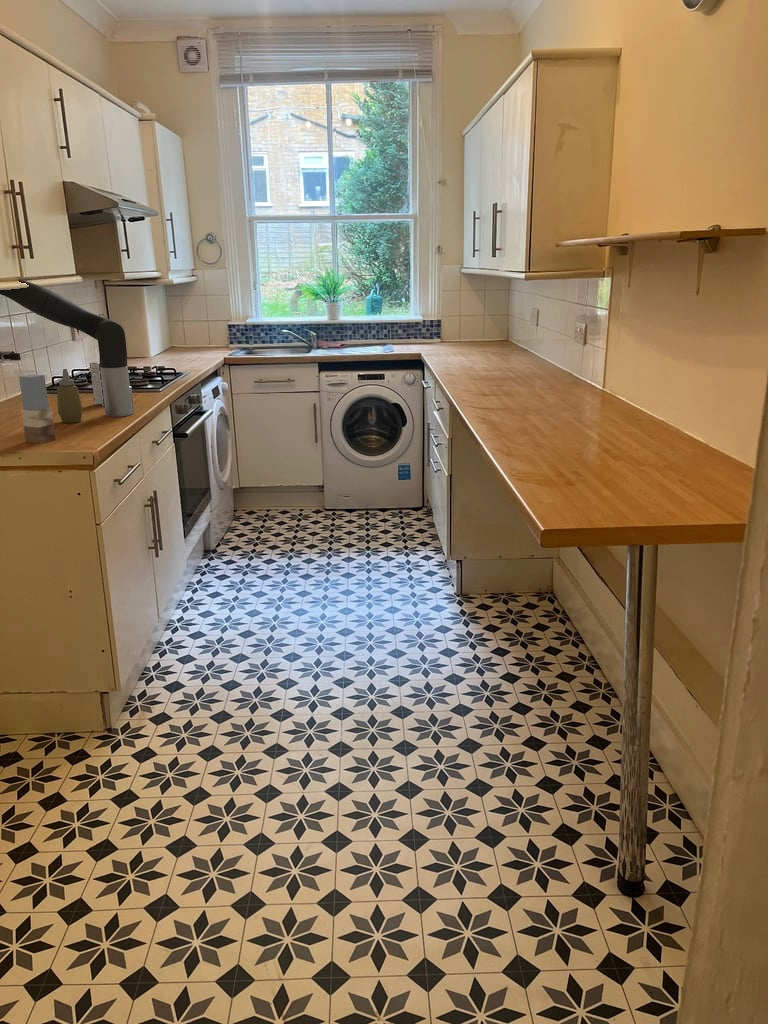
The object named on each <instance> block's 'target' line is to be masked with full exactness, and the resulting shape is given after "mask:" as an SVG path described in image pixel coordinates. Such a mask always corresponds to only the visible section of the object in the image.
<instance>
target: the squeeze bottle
mask: <svg viewBox="0 0 768 1024" xmlns="http://www.w3.org/2000/svg"><path fill="white" fill-rule="evenodd" d="M58 382H59V386H58V387H57V388H56V390H57V391H56V393H57V413H58V415H59V417H60V420H61V422H62V423H66V424H72V423H79V422H81V421H82V418H83V417H82V416H83V412H84V409H83V404H82V400H81V397H80V392H79V387H78V386H76V385H75V380H74V379H72V378H71V377H70V374H69V371H68V369H67V368H63V369H62V378H61V379H59V380H58Z"/></svg>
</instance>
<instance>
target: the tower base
mask: <svg viewBox="0 0 768 1024" xmlns="http://www.w3.org/2000/svg"><path fill="white" fill-rule="evenodd" d="M54 426H55V425H54V423H53V424H51V425H47V426H43V427H39V428H37V427H27V426H23V431H24V438H25V442H26V443H30V442H32V444H41V445H42V444H45V443H48V442H52V441H55V440H56V439H57V438H56V432H55V427H54Z"/></svg>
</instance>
